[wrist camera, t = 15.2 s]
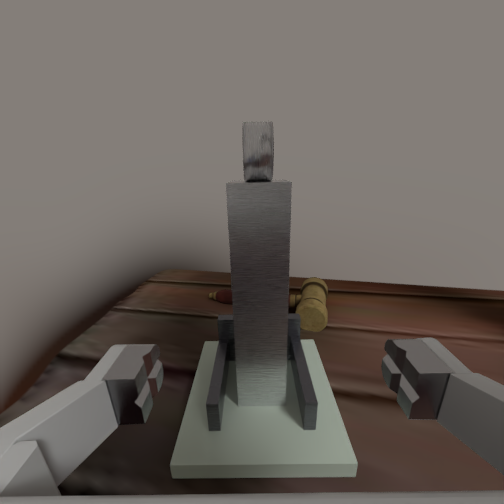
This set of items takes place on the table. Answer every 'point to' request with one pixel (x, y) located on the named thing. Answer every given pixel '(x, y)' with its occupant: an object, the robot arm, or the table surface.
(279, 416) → the keeper bracket
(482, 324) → the table surface
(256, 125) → the steel link
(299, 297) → the gavel
